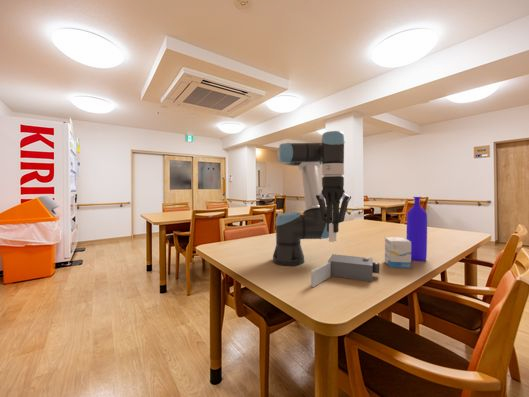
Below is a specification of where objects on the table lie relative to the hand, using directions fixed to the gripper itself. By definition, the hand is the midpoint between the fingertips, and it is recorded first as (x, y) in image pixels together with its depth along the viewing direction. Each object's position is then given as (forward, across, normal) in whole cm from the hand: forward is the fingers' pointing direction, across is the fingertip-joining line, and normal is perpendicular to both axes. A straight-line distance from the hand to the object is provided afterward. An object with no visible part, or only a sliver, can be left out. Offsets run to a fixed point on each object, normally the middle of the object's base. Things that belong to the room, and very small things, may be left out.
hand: (332, 240), depth 86 cm
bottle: (+17, +15, +53) cm, 58 cm away
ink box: (+16, +11, +38) cm, 43 cm away
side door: (+16, -4, -2) cm, 16 cm away
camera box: (+16, +2, +13) cm, 21 cm away
